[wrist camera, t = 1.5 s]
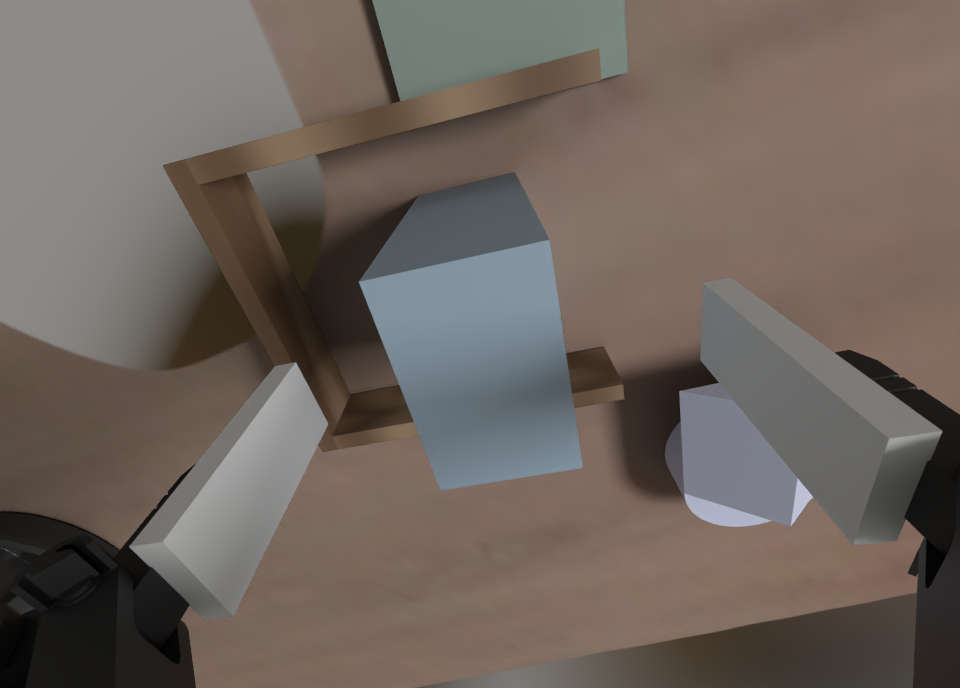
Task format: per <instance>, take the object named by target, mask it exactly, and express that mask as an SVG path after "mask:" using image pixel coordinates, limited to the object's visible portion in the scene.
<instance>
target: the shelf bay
mask: <svg viewBox="0 0 960 688" xmlns="http://www.w3.org/2000/svg"><path fill="white" fill-rule="evenodd" d="M600 80H601V66H600V52H599V48H597V49H593V50H590V51H586V52H582V53H578V54H575V55H571V56H567V57H564V58H560V59H556V60H552V61H549V62H545V63H541V64H538V65H534V66H530V67H526V68H523V69H519V70H515V71H512V72H508V73H504V74H500V75H497V76H493V77H489V78H485V79H482V80H478V81H474V82H471V83H467V84H463V85H459V86H456V87H452V88H448V89H445V90H441V91H437V92H433V93H430V94H426V95H422V96H419V97H415V98H411V99H407V100H404V101H400V102H396V103H392V104H389V105H385V106H381V107H378V108H374V109H370V110H366V111H363V112H359V113H355V114H352V115H348V116H344V117H340V118H337V119H333V120H329V121H326V122H322V123H318V124H314V125H311V126H307V127H303V128H300V129H296V130H292V131H289V132H285V133H281V134H277V135H273V136H270V137H266V138H262V139H259V140H255V141H251V142H247V143H244V144H240V145H236V146H233V147H229V148H225V149H222V150H218V151H214V152H210V153H206V154H203V155H199V156H196V157H192V158H188V159H184V160H180V161H177V162H173V163H169V164H166V165H163V167H164V169H165V171H166V172H167V174H168V176H169V178H170V180H171V182H172V183H173V185H174V187H175V189H176V191H177V192H178V194H179V196H180V198H181V199H182V201H183V203H184V205H185V207H186V208H187V210H188V212H189V214H190V216H191V217H192V219H193V221H194V223H195V225H196V226H197V228H198V230H199V232H200V233H201V235H202V237H203V239H204V241H205V242H206V244H207V246H208V248H209V250H210V251H211V253H212V255H213V257H214V259H215V260H216V262H217V264H218V266H219V268H220V269H221V271H222V273H223V275H224V277H225V278H226V280H227V282H228V284H229V285H230V287H231V289H232V291H233V293H234V294H235V296H236V298H237V300H238V301H239V303H240V305H241V307H242V309H243V310H244V312H245V314H246V316H247V318H248V319H249V321H250V323H251V325H252V327H253V328H254V330H255V332H256V334H257V336H258V338H259V339H260V341H261V343H262V345H263V346H264V348H265V350H266V352H267V354H268V355H269V357H270V359H271V361H272V363H273V364H274V366H279V365H284V364H289V363H294V362H296V363H297V365H298V367H299V369H300V371H301V373H302V375H303V377H304V379H305V380H306V382H307V384H308V386H309V388H310V390H311V392H312V394H313V396H314V398H315V399H316V401H317V403H318V405H319V407H320V409H321V411H322V413H323V415H324V417H325V418H326V420H327V422H328V426H327V428H326V430H325V432H324V434H323V436H322V438H321V440H320V442H319V444H318V445H319V447H320V449H321V450H322V452H326V451H332V450H338V449H343V448H349V447H355V446H360V445H366V444H372V443H377V442H383V441H389V440H395V439H400V438H406V437H412V436H417V435H419V434H418V431H417V429H416V426H415V424H414V421H413V419H412V416H411V413H410V411H409V408H408V406H407V403H406V401H405V398H404V396H403V393H402V391H401V388H400V386H394V387H389V388H384V389H378V390H373V391H368V392H363V393H357V394H352V395H350V393H349V390H348V388H347V386H346V384H345V382H344V380H343V378H342V376H341V373H340V371H339V369H338V367H337V365H336V363H335V361H334V359H333V356H332V354H331V352H330V350H329V348H328V346H327V344H326V342H325V339H324V337H323V335H322V333H321V331H320V329H319V327H318V325H317V322H316V320H315V318H314V316H313V314H312V312H311V310H310V308H309V305H308V303H307V301H306V299H305V297H304V295H303V293H302V291H301V288H300V286H299V284H298V282H297V280H296V278H295V276H294V274H293V271H292V269H291V267H290V265H289V263H288V261H287V259H286V257H285V254H284V252H283V250H282V248H281V246H280V244H279V242H278V239H277V238H276V235H275V233H274V231H273V229H272V227H271V225H270V223H269V221H268V218H267V216H266V214H265V212H264V210H263V208H262V205H261V203H260V201H259V199H258V197H257V195H256V193H255V191H254V188H253V186H252V184H251V182H250V180H249V178H248V176H247V174H246V172H250V171H254V170H258V169H262V168H266V167H270V166H273V165H277V164H281V163H285V162H289V161H293V160H297V159H300V158H304V157H308V156H312V155H316V154H320V153H324V152H327V151H331V150H335V149H339V148H343V147H347V146H350V145H354V144H358V143H362V142H366V141H370V140H374V139H377V138H381V137H385V136H389V135H393V134H397V133H400V132H404V131H408V130H412V129H416V128H420V127H423V126H427V125H431V124H435V123H439V122H443V121H447V120H450V119H454V118H458V117H462V116H466V115H470V114H473V113H477V112H481V111H485V110H489V109H493V108H497V107H500V106H504V105H508V104H512V103H516V102H520V101H523V100H527V99H531V98H535V97H539V96H543V95H546V94H550V93H554V92H558V91H562V90H566V89H570V88H573V87H577V86H581V85H585V84H589V83H593V82H596V81H600ZM566 356H567V363H568V370H569V376H570V383H571V390H572V397H573V404H574V408H577V407H583V406H589V405H594V404H600V403H606V402H611V401H617V400H623V399H624V389H623V383H622V381H621V379H620V377H619V375H618V373H617V371H616V369H615V367H614V366H613V364H612V362H611V360H610V358H609V356H608V354H607V352H606V350H605V348H604V347H600V348H594V349H589V350H584V351H579V352H573V353H568V354H566Z"/></svg>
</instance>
